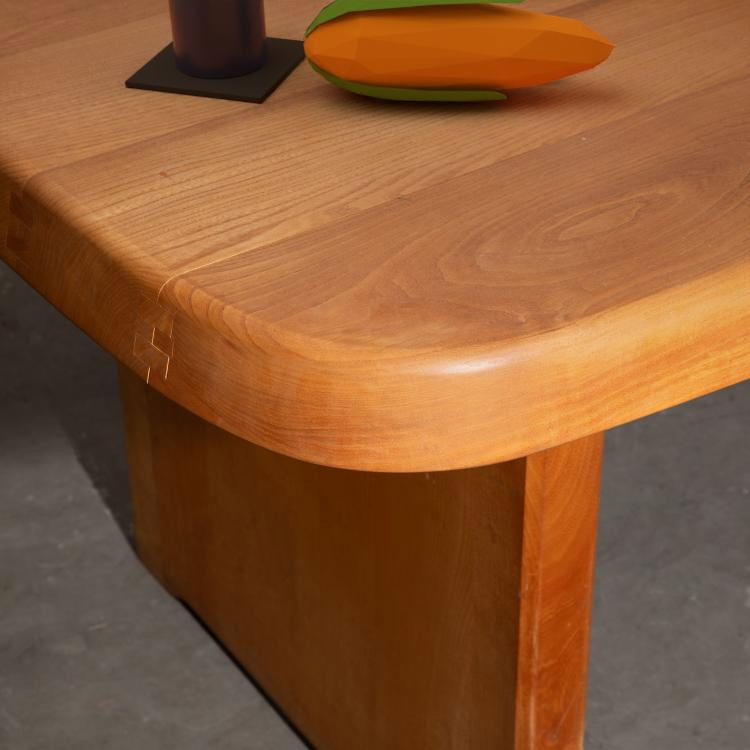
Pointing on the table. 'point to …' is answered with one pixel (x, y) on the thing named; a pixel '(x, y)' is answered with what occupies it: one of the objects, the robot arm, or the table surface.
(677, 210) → the table surface
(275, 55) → the coaster
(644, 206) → the table surface
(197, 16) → the tin
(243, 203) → the table surface
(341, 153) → the table surface
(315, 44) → the corn
